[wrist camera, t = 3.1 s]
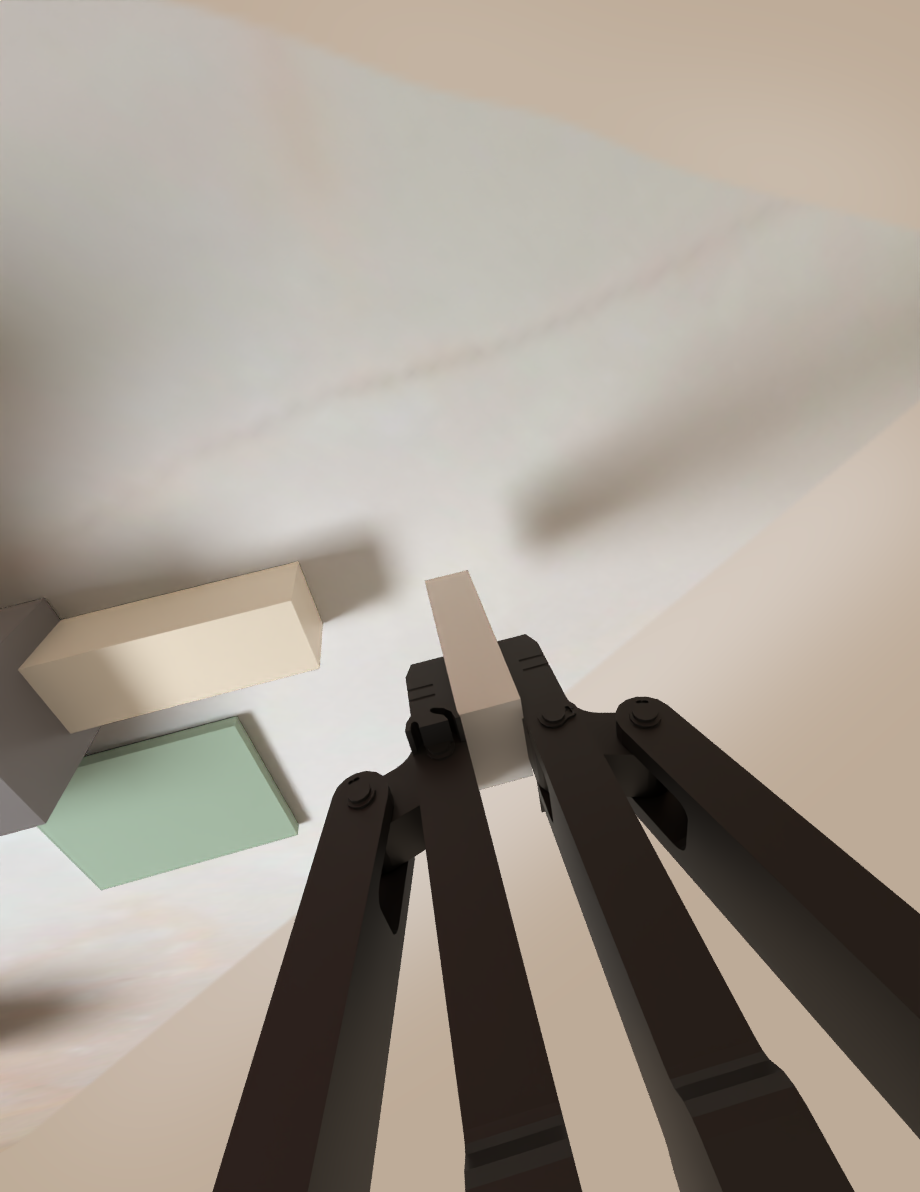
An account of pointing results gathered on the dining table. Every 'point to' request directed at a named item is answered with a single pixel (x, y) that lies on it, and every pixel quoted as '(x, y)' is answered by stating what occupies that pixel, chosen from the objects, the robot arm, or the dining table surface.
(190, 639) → the plug
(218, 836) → the mat
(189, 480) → the dining table surface
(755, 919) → the robot arm
